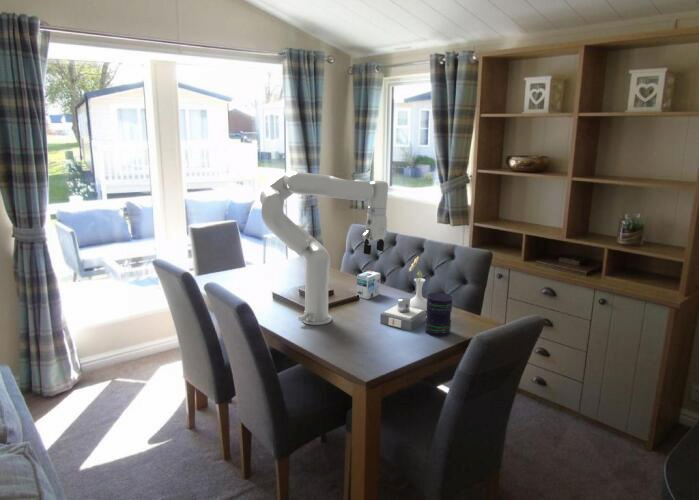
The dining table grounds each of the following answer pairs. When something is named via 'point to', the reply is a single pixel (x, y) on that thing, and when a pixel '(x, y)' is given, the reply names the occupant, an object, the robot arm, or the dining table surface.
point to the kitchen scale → (403, 318)
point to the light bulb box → (368, 284)
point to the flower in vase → (418, 290)
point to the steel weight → (403, 305)
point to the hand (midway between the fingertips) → (373, 252)
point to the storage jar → (438, 314)
